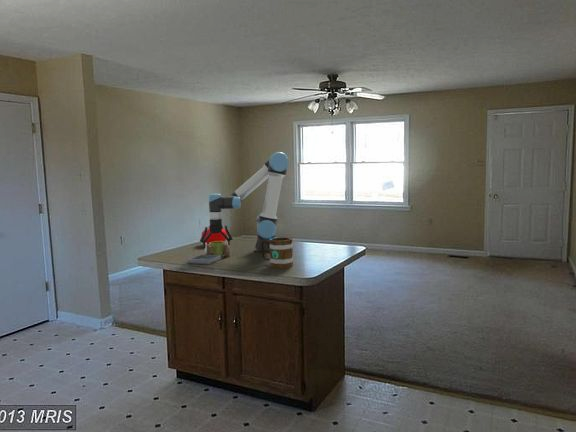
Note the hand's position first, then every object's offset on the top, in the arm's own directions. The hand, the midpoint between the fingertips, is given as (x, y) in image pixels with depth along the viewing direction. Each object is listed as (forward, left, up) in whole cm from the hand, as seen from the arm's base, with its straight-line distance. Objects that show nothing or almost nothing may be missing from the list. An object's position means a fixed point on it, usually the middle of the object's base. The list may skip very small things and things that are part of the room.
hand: (216, 252), depth 284 cm
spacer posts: (0, 0, -3) cm, 2 cm away
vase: (+23, -35, -3) cm, 42 cm away
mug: (-47, +14, -3) cm, 49 cm away
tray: (-1, +16, -3) cm, 16 cm away
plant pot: (0, 0, -3) cm, 3 cm away
